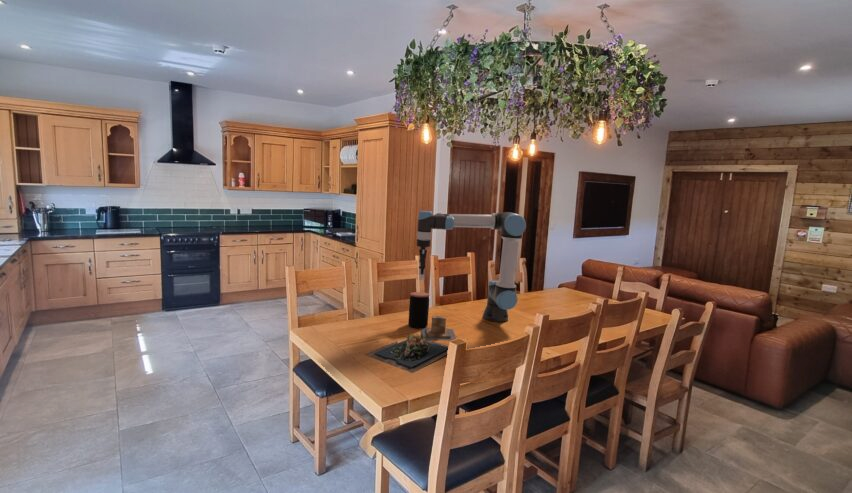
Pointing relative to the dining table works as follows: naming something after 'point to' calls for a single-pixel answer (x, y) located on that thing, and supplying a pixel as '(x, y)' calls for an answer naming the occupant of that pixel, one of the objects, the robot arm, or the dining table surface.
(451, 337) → the mat
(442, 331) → the lid
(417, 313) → the coffee jar
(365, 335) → the dining table surface
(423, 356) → the plated dish
